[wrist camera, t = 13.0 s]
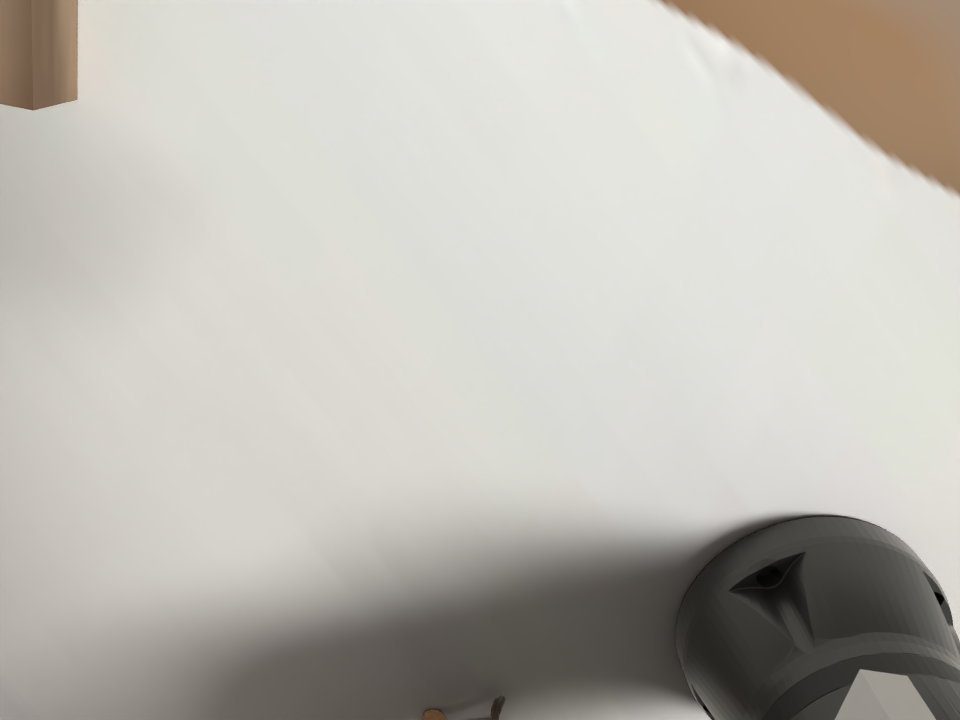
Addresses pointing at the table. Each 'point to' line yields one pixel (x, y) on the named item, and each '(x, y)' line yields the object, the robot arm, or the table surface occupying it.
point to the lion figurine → (437, 719)
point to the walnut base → (38, 52)
